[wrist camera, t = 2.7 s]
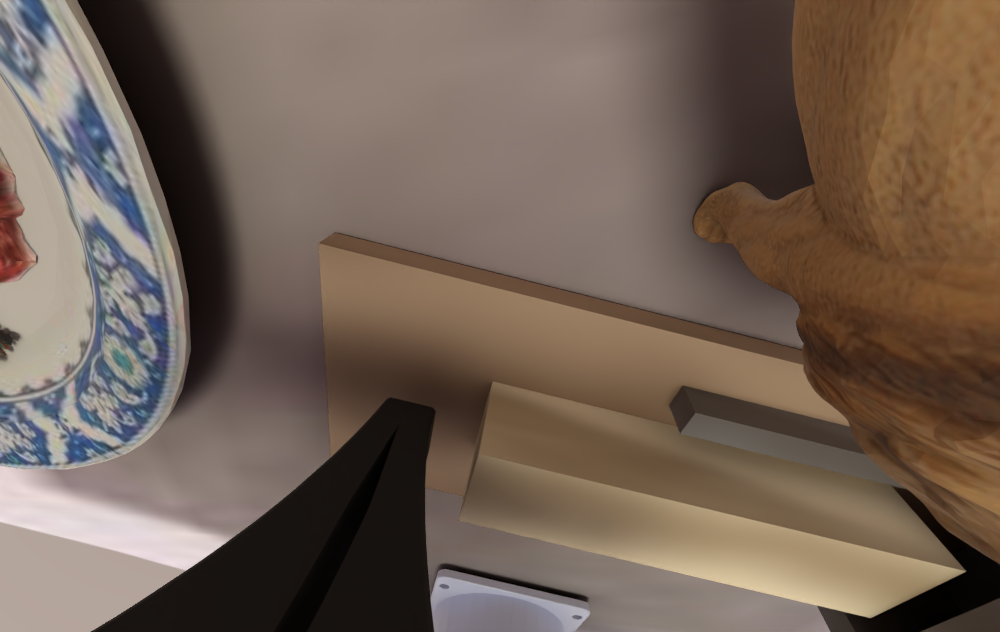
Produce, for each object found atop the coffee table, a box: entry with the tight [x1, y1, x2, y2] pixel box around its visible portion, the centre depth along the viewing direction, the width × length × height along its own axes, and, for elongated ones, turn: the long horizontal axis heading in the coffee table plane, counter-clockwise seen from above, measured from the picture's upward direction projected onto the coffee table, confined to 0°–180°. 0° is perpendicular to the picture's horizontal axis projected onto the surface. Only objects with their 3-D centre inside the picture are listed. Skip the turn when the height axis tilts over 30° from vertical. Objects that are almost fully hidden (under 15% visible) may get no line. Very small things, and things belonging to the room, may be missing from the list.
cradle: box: [319, 233, 1000, 632], centre depth 10 cm, size 9×22×4 cm, turn 78°
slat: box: [459, 382, 966, 618], centre depth 10 cm, size 3×12×2 cm, turn 77°
